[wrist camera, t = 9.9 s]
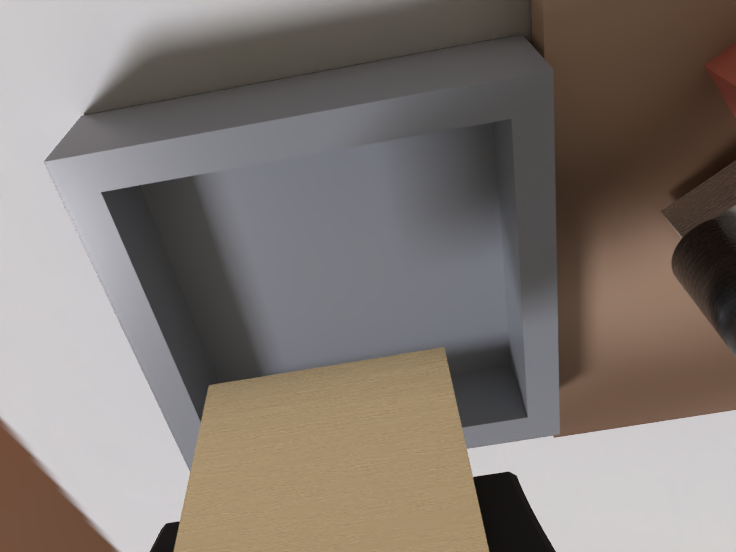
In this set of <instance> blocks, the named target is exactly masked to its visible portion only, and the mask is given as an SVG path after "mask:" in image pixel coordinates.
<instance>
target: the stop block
mask: <svg viewBox="0 0 736 552" xmlns="http://www.w3.org/2000/svg"><path fill="white" fill-rule="evenodd" d="M174 552H489V548H488V544H487V539H486V534H485V530H484V525H483V521H482V516H481V512H480V507H479V503H478V498H477V494H476V489H475V485H474V480H473V475H472V471H471V466H470V462H469V457H468V453H467V448H466V444H465V439H464V435H463V430H462V426H461V421H460V416H459V412H458V407H457V403H456V398H455V394H454V389H453V385H452V380H451V376H450V371H449V366H448V362H447V357H446V353H445V348H444V347H442V348H436V349H429V350H423V351H417V352H411V353H405V354H399V355H392V356H386V357H380V358H374V359H368V360H362V361H355V362H349V363H343V364H337V365H331V366H325V367H318V368H312V369H306V370H300V371H294V372H287V373H281V374H275V375H269V376H263V377H257V378H250V379H244V380H238V381H232V382H226V383H220V384H213V385H209V387H208V391H207V396H206V401H205V405H204V410H203V415H202V420H201V424H200V429H199V434H198V439H197V443H196V448H195V453H194V457H193V462H192V467H191V472H190V476H189V481H188V486H187V491H186V495H185V500H184V505H183V509H182V514H181V519H180V524H179V528H178V533H177V538H176V543H175V547H174Z"/></svg>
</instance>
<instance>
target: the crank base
mask: <svg viewBox="0 0 736 552" xmlns="http://www.w3.org/2000/svg"><path fill="white" fill-rule="evenodd" d="M531 26H532V46H533V47H534V48H535V49H536V50H537V51H538V53H539V54H540V55H541V56H542V57H543V58H544V59H545V60H546V62H547V63H548V64H549V65H550V66H551V67H552V68H553V75H554V131H555V187H556V243H557V299H558V354H559V410H560V434H559V435H553V436H554V438H555V437H561V436H568V435H574V434H581V433H587V432H594V431H600V430H607V429H614V428H620V427H627V426H633V425H640V424H646V423H653V422H659V421H666V420H672V419H679V418H685V417H692V416H698V415H705V414H711V413H718V412H724V411H731V410H736V357H735V356H734V354H733V353H732V352H731V350H730V349H729V348H728V346H727V345H726V344H725V342H724V341H723V340H722V338H721V337H720V336H719V334H718V333H717V332H716V330H715V329H714V328H713V326H712V325H711V324H710V322H709V321H708V320H707V318H706V317H705V316H704V315H703V313H702V312H701V311H700V309H699V308H698V307H697V305H696V304H695V303H694V301H693V300H692V299H691V297H690V296H689V295H688V293H687V292H686V291H685V289H684V288H683V287H682V285H681V284H680V283H679V281H678V280H677V279H676V277H675V276H674V274H673V271H672V266H671V261H672V256H673V253H674V250H675V248H676V246H677V245H678V243H679V242H680V240H681V238H680V236H679V235H678V234H677V232H676V231H675V230H674V228H673V227H672V226H671V224H670V223H669V222H668V220H667V219H666V218H665V216H664V215H663V214H662V212H661V211H662V210H664V209H665V208H667V207H668V206H670V205H671V204H672V203H674V202H675V201H677V200H678V199H680V198H681V197H683V196H684V195H686V194H687V193H689V192H690V191H691V190H693V189H694V188H696V187H697V186H699V185H700V184H702V183H703V182H705V181H706V180H708V179H709V178H710V177H712V176H713V175H715V174H716V173H718V172H719V171H721V170H722V169H724V168H725V167H727V166H728V165H729V164H731V163H732V162H734V161H735V160H736V0H531Z"/></svg>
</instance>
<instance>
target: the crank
mask: <svg viewBox="0 0 736 552" xmlns="http://www.w3.org/2000/svg"><path fill="white" fill-rule="evenodd" d="M661 212H662V214H663V215H664V216H665V218H666V219H667V220H668V222H669V223H670V224H671V226H672V227H673V228H674V230H675V231H676V232H677V234H678V235H679V236H680V238H681V240H680V242H679V243H678V245H677V246H676V248H675V250H674V253H673V256H672V261H671V266H672V271H673V274H674V276H675V277H676V279H677V280H678V281H679V283H680V284H681V285H682V287H683V288H684V289H685V291H686V292H687V293H688V295H689V296H690V297H691V299H692V300H693V301H694V303H695V304H696V305H697V307H698V308H699V309H700V311H701V312H702V313H703V315H704V316H705V317H706V318H707V320H708V321H709V322H710V324H711V325H712V326H713V328H714V329H715V330H716V332H717V333H718V334H719V336H720V337H721V338H722V340H723V341H724V342H725V344H726V345H727V346H728V348H729V349H730V350H731V352H732V353H733V354H734V356H735V357H736V160H735V161H734V162H732V163H731V164H729V165H728V166H727V167H725V168H724V169H722V170H721V171H719V172H718V173H716V174H715V175H713V176H712V177H710V178H709V179H708V180H706V181H705V182H703V183H702V184H700V185H699V186H697V187H696V188H694V189H693V190H691V191H690V192H689V193H687V194H686V195H684V196H683V197H681V198H680V199H678V200H677V201H675V202H674V203H672V204H671V205H670V206H668V207H667V208H665V209H664V210H662V211H661Z"/></svg>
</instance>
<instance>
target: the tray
mask: <svg viewBox="0 0 736 552" xmlns="http://www.w3.org/2000/svg"><path fill="white" fill-rule="evenodd" d="M44 164H45V166H46V168H47V170H48V172H49V174H50V177H51V179H52V181H53V183H54V185H55V187H56V189H57V191H58V194H59V196H60V198H61V200H62V202H63V204H64V206H65V208H66V210H67V213H68V215H69V217H70V219H71V221H72V223H73V225H74V227H75V229H76V232H77V234H78V236H79V238H80V240H81V242H82V244H83V246H84V248H85V251H86V253H87V255H88V257H89V259H90V261H91V263H92V265H93V267H94V270H95V272H96V274H97V276H98V278H99V280H100V282H101V284H102V286H103V289H104V291H105V293H106V295H107V297H108V299H109V301H110V303H111V306H112V308H113V310H114V312H115V314H116V316H117V318H118V320H119V322H120V325H121V327H122V329H123V331H124V333H125V335H126V337H127V339H128V341H129V344H130V346H131V348H132V350H133V352H134V354H135V356H136V358H137V360H138V363H139V365H140V367H141V369H142V371H143V373H144V375H145V377H146V379H147V382H148V384H149V386H150V388H151V390H152V392H153V394H154V396H155V399H156V401H157V403H158V405H159V407H160V409H161V411H162V413H163V415H164V418H165V420H166V422H167V424H168V426H169V428H170V430H171V432H172V434H173V437H174V439H175V441H176V443H177V445H178V447H179V449H180V451H181V453H182V456H183V458H184V460H185V462H186V464H187V466H188V468H189V470H190V472H191V467H192V462H193V457H194V453H195V448H196V443H197V439H198V434H199V429H200V424H201V420H202V415H203V410H204V405H205V401H206V396H207V391H208V387H209V385H213V384H220V383H226V382H232V381H238V380H244V379H250V378H257V377H263V376H269V375H275V374H281V373H287V372H294V371H300V370H306V369H312V368H318V367H325V366H331V365H337V364H343V363H349V362H355V361H362V360H368V359H374V358H380V357H386V356H392V355H399V354H405V353H411V352H417V351H423V350H429V349H436V348H442V347H444V348H445V353H446V357H447V362H448V366H449V371H450V376H451V380H452V385H453V389H454V394H455V398H456V403H457V407H458V412H459V416H460V421H461V426H462V430H463V435H464V439H465V444H466V448H467V449H468V448H475V447H481V446H488V445H494V444H501V443H507V442H514V441H520V440H527V439H533V438H540V437H546V436H553V435H559V434H560V410H559V354H558V299H557V243H556V187H555V131H554V75H553V68H552V67H551V66H550V65H549V64H548V63H547V62H546V60H545V59H544V58H543V57H542V56H541V55H540V54H539V53H538V51H537V50H536V49H535V48H534V47H533V46H532V45H531V44H530V43H529V41H528V40H527V39H526V38H525V37H524V36H523V35H522V34H521V35H516V36H511V37H505V38H500V39H494V40H489V41H484V42H478V43H473V44H467V45H462V46H457V47H451V48H446V49H440V50H435V51H430V52H424V53H419V54H413V55H408V56H403V57H397V58H392V59H386V60H381V61H376V62H370V63H365V64H359V65H354V66H349V67H343V68H338V69H332V70H327V71H322V72H316V73H311V74H305V75H300V76H295V77H289V78H284V79H278V80H273V81H268V82H262V83H257V84H251V85H246V86H241V87H235V88H230V89H224V90H219V91H214V92H208V93H203V94H197V95H192V96H187V97H181V98H176V99H170V100H165V101H160V102H154V103H149V104H143V105H138V106H133V107H127V108H122V109H116V110H111V111H106V112H100V113H95V114H89V115H84V116H81V117H80V119H79V120H78V121H77V122H76V123H75V125H74V126H73V127H72V128H71V129H70V131H69V132H68V133H67V134H66V135H65V137H64V138H63V139H62V140H61V142H60V143H59V144H58V145H57V146H56V148H55V149H54V150H53V151H52V152H51V154H50V155H49V156H48V157H47V159H46V160H45V161H44Z"/></svg>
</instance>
